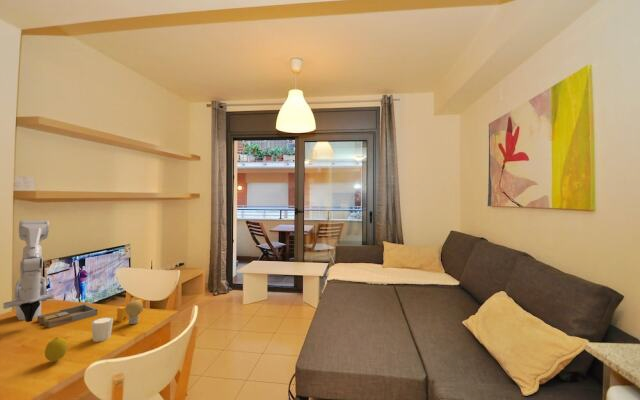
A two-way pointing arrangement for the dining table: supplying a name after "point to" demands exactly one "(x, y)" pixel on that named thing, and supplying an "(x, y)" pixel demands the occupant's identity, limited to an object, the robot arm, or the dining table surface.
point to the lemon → (56, 349)
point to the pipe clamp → (123, 314)
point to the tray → (89, 309)
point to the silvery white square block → (62, 314)
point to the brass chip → (49, 318)
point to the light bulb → (134, 311)
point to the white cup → (102, 328)
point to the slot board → (58, 319)
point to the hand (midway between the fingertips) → (28, 321)
